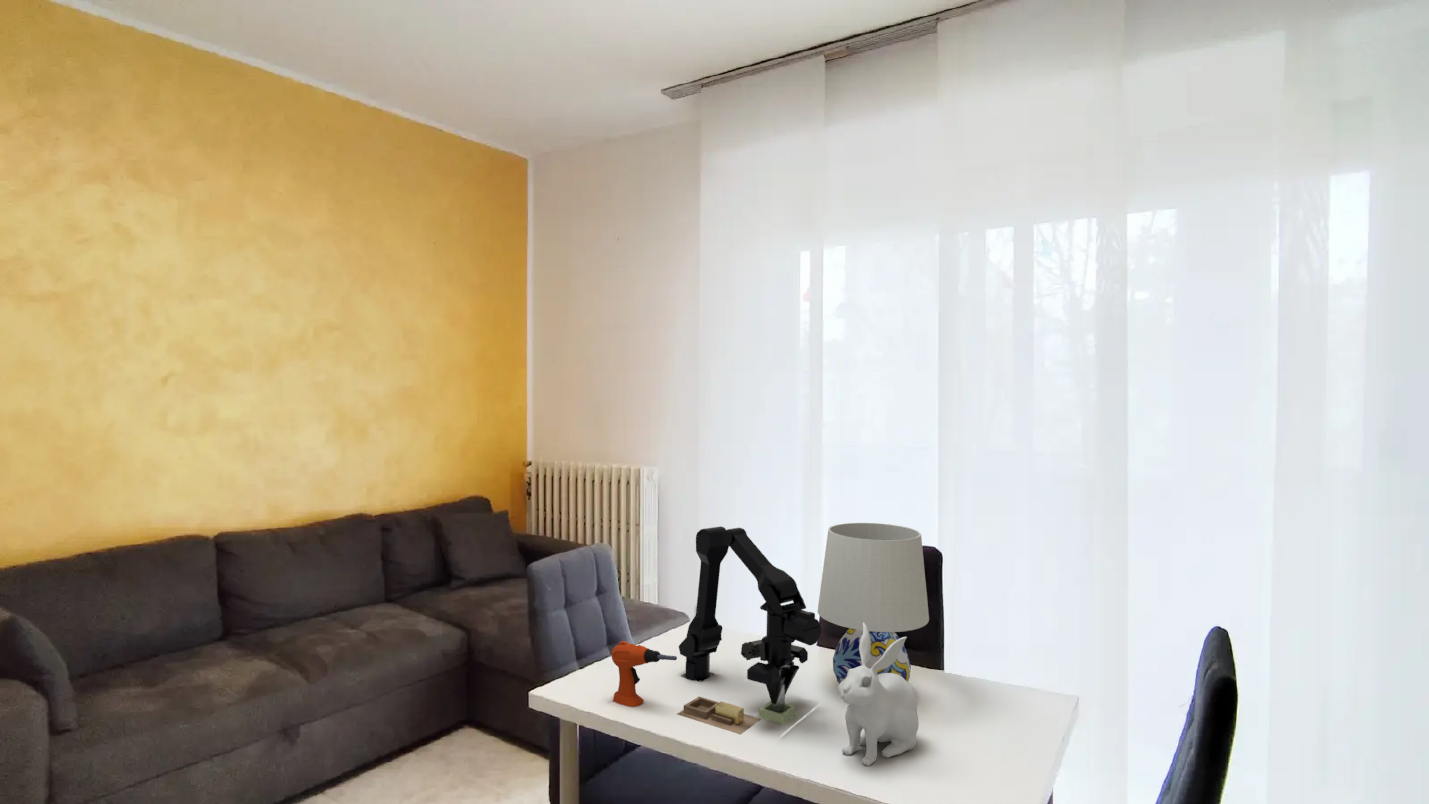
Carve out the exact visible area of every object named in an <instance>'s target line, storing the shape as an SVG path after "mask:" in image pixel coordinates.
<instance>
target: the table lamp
mask: <svg viewBox="0 0 1429 804" xmlns="http://www.w3.org/2000/svg"><path fill="white" fill-rule="evenodd" d="M922 541H923V540H922V533H921V532H920V531H919V530H917V529H915V528H910V527H906V526H902V525H897V524H890V523H888V524H886V523H879V522H878V523H877V522H876V523H875V522H847V523H846V522H845V523H837V524H835V525H831V526H829V527H828V529H827V536H826V545H825V552H824V558H823V559H824V560H823V565H822V566H823V567H822V574H821V581H820V582H821V583H820V590H819V596H818V603H817V604H818V605H817V614H818V615H819V616H820V617H821V618H822V619H823V620H824V621H827V622H829V623H832V624H834V625H835V626H840V627H843V628H848V629H847V630H846V632H845V634H843V635H842V637H841V638H840V640H839V641H838V643H837V645H836V648H835V650H834V654H833V657H832V671H833V673H834V676H835V677H836V681H837V682H838V685H839V684H840V683H841V682H842V681H843V680H845V679H846V677H847V673H848V671H849V669H853V668H856V667H859V666H861V665H862V661H861V656H860V652H859V644H860V640H861V637H862V634H863V622H864V623H865V624H866V626H867V628H868V632H869V635H870V639H871V650H870V659H869V661H868V662H867V663H866V667H868V668H869V669H871V668H872V666H873V665H874V664H875V663H876V662H877V661H879V659H880V658H881V657H882V656H883V654H884V652H885V651H886V649H887V648H888V647H889V646H890V645H891V644H892V643H893V642H895V641H896V640H898V639H900V637H899V636H898V634H897V633H901V632H909V631H914V630H919V629H921V628H923V627H925V626H926V625H928V623H929V621H930V615H929V606H928V605H929V604H928V592H927V581H926V574H925V573H926V572H925V563H924V561H925V560H924V553H923V552H924V551H923V542H922ZM911 669H912V665H911V661H910V657H909V654H908V652H907V650H906V648H905V644H904V645H903V647H902V648H901V650H900V652H899V654H898V656H897V658H896V660H895V662H894V663H893V664H891V665H890V666H889V667H888V668H886V669H880V670H878V672H877V675H879V674H883V673H894V674H897V675H900V676H901V677H902V678H904V679H905V680H906V681H907V682H908V683H909V681H910V679H911V672H912V671H911Z"/></svg>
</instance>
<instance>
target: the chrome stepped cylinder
mask: <svg viewBox="0 0 1429 804" xmlns="http://www.w3.org/2000/svg"><path fill="white" fill-rule="evenodd" d="M781 676H782V675H781ZM785 703H786V694H785V683H783V686H782V689H781V692H780V695H779V698H778V701H777V703H776V704H773V703H772V702H771V711H773V712H777V713H781V712H784V711H785Z"/></svg>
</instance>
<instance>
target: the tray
mask: <svg viewBox="0 0 1429 804" xmlns="http://www.w3.org/2000/svg"><path fill="white" fill-rule="evenodd" d="M798 714H799V712H797V705H792V704H790V703H786V702H785V711H784V712H781V713H777V712H773V711H771V700H770V701H769V702H767V703H765V704H764V705H763V706H762V707H761V708H759V709H758V715H757V716H756V717H757V718H760V719H764V720H767V721H770V722H774V723H777V724H779V725H782V726H783V725H786V724H788V722H789V721H791V720H792V719H793V718H794V717H795V716H797V715H798Z"/></svg>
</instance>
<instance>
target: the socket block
mask: <svg viewBox="0 0 1429 804" xmlns="http://www.w3.org/2000/svg"><path fill="white" fill-rule="evenodd" d="M718 703H720V701H716V700H712V699H710V698H705V697H703V696H702V697H701V696H698V697H696V698H694V699H693V700H690V701H689V702H687V703H686V704H684V705H683V709H682V710H681V711H679V712H678V713H676V715H678V716H680V717H684V718H687V719H691V720H694V721H697V722H700V723H703V724H706V725H709V726H713V727H715V728H718V729H722V730H725V731H728V732H731V733H735V734H737V735H742V734H743V733H745V732H746V731H747V730H749V729H750V728H752V727H753V726H755V724H757V723H758V722H760V721H761V720H762V718H760V717H757V716H753V715H750V714H746V713H744V721H742V722H741V723H739V724H734V723H732V720H731V719H728V718H725V717H722V716H718V715H715V705H716V704H718Z"/></svg>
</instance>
